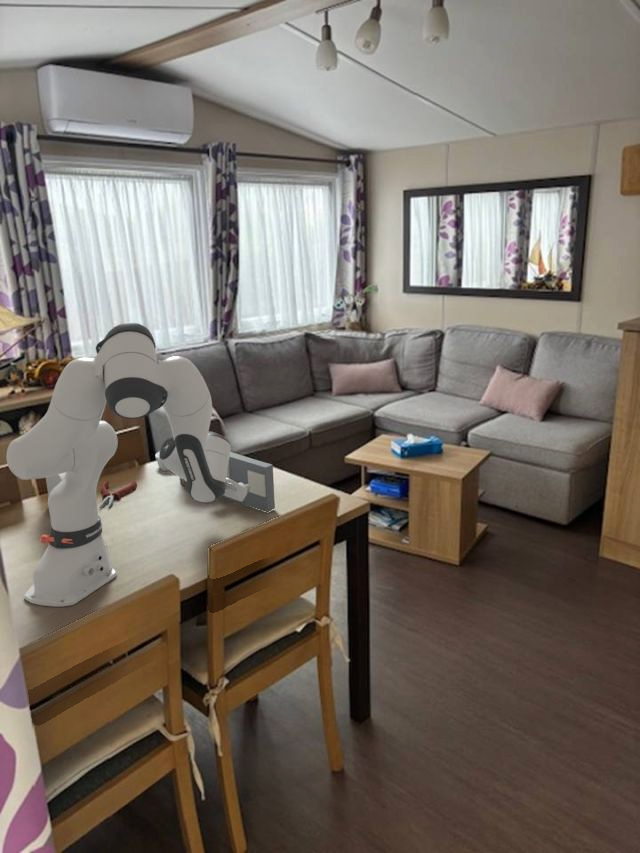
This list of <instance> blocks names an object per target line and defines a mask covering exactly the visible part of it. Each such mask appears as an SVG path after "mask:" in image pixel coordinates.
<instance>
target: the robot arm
mask: <svg viewBox="0 0 640 853" xmlns="http://www.w3.org/2000/svg"><path fill="white" fill-rule="evenodd" d="M156 347H157V346H156V342H155V339H154V337H153V334H152V332H151V331H150V330H149V329H148V328H147V327H146V326H145V325H143V324H140V323H137V322H123V323H120V324H117V325H115V326H114V327H112V328H111V329H110V330H109V331H108V332H107V333H106V335H105V336H104V338H103V339H102V340H101V341H98V342H97V343H96V345H95V351H96V355H95V356H94V357H79V358H75V359H73V360H71V361H69V362H68V363H67V364H66V366H65V367H64V368H63V370H62V371H61V373H60V375H59V377H58V378H57V381H56V383H55V386H54V389H53V392H52V396H51V400H50V403H49V406H48V408H47V411H46V413H45V414H44V416H43V417H42V418H41V419H39V421H38V422H37V423H36V424H35V425H34V426H32V428H31V429H29V430H28V431H26V432H25V433H23V434H22V435H20V436H19V437H16V438H14V439H13V440H11V442H10V443H9V444H8V447H7V449H6V463H7V466H8V469H9V470H10V471H11V473H12V474H13V475H15V477H16V478H18V479H20V480H24V481H26V480H39V479H46V477H50V476H54V475H57V474H61V473H65V472H66V474H65V476H64V478H63V480H62V481H61V482H60V483H59V484H58V485H57V486H56V487H55V488H53V490H52V491H51V492H50V494H49V495H48V499H47V506H48V512H49V520H50V526H49V532H48V533H49V534H41V536H40V540H39V541H40V543H42V544H47V545H48V546H47V548H46V550H44V553H43V554H42V557H41V558H40V560H39V562H38V564H37V565H36V567H35V569H34V571H33V576H32V577H33V584H32V585H31V587H29V589H28V590H27V591H26V592H25V593H24V594H23V596H24V599H25V601H26V602H28V601H29V602H28V603H31V604H33V605H38V606H45V607H69V606H73V605H75V604H77V603H79V602H80V601H81V600H83V599H85V598H86V597H88V596H90V595H91V594H92V593H94V592H95V591H96V590H98V589H100V588H101V587H103V586H104V585H105V584H107V583H108V582H110V581H112V580H113V579H114V578H116V577H117V571H116V570H115V569H114V567H113V564H112V561H111V557H110V553H109V548H108V545H107V544H106V541H105V539H104V537H103V534H102V533H103V523H102V521H101V520H102V519H101V517H100V516H99V511H98V510H99V509H98V501H97V500H98V496H97V487H98V482H99V480H100V477H101V474H102V473H103V472H102V471H103V470H104V468H105V466H106V465H107V464H108V461H110V460H111V459H112V457H114V455H115V454H116V453H117V449H118V443H119V440H118V435H117V433H116V431H115V429H114V427H113V426H112V425H111V424H110V423H108V422H107V421H106V420H102V416H103V414H104V411H105V409H106V405H107V406H108V408H109V410H110V412H111V413H112V414H114V415H116V416H118V417H120V418H122V419H129V420H135V419H136V420H137V419H141V418H144V417H146V416H148V415H151V414H152V413H154V412H156V411H157V410H159V409H160V408H163V410H164V412H165V414H166V417H167V421H168V422H169V425H170V428H171V433H172V435H170V436H169V437H167V438H166V439H165V441H163V443H162V444H161V447H160V450H159V452H160V453H159V458H160V460H161V462H162V463H163V464H164V465H165V466H166V467H167V468H168V469H169V470H170V471H171V472H172V473H173V474H174V475H176V476H177V477H179V479H180V478H181V479H182V480H184V481H186V485H185V486H184V489H185V491H186V492H187V494H188V495H189V496H190V498H191V499H193V500H195V501H196V502H199V503H201V504H210V503H214V502H215V501H217V500H219V499H220V498H222V497H221V496H223V495H224V496H227V497H229V498H232V499H235V500H238V501H241V502H242V501H243V500H244V498H245V497H246V495H247V490H246V489H245V488H244V487H242V486H241V485H239V484H238V483H236V482H235V481H233V480H231V479H229V478H226V476H227V471H228V465H229V458H230V452H231V453H232V445H231V443H230V441H229V440H228V439H227V438H225V437H224V436H223V435H221V434H220V433H217V432H214V431H211V432H208V431H210V426H211V420H212V416H213V402H212V396H211V393H210V390H209V387H208V386H207V383H206V381H205V378H204V377H203V376H202V373H201V372H200V370H199V369H198V367H196V365H195V364H194V363H193V362H192V361H191V360H190V359H189V358H186V357H185V356H179V355H178V356H177V355H174V356H170V357H167V358H164V359H163V360H160V359H158V356H157V352H156Z"/></svg>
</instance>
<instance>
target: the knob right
mask: <svg viewBox="0 0 640 853" xmlns="http://www.w3.org/2000/svg"><path fill="white" fill-rule="evenodd" d="M238 484H239V485H241V486H242V487H244V488H245V489H246V490H247V491H249V490H250V485H249V484H246V485H244V484H243V483H241V482H240V483H238Z"/></svg>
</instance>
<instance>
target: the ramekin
mask: <svg viewBox="0 0 640 853" xmlns="http://www.w3.org/2000/svg"><path fill="white" fill-rule="evenodd" d="M159 453H160V451H158V452H156V453H155V455H154V456H155V459H156V463H157V465H158V467H159V469H160V470H162V471H170V470H169V469H168V468H167V467H166V466H165V465H164V464H163V463H162V462H161V460H160V458H159Z"/></svg>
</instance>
